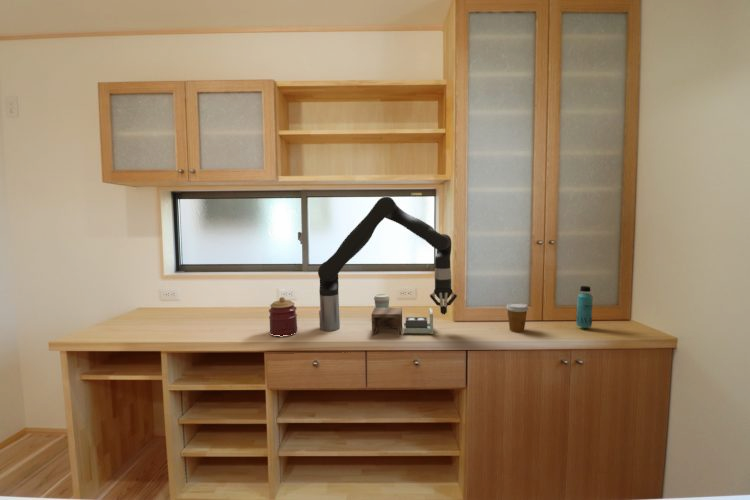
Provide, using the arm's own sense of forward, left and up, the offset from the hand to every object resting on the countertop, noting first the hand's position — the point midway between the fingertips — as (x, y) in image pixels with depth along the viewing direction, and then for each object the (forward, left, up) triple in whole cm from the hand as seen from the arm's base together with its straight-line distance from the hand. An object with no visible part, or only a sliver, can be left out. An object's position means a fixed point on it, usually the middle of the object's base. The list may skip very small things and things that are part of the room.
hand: (443, 314), depth 176 cm
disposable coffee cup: (+34, +3, -9) cm, 35 cm away
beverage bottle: (+65, +6, -9) cm, 66 cm away
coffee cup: (-31, +24, -9) cm, 40 cm away
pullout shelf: (-12, 0, -8) cm, 14 cm away
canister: (-76, -4, -9) cm, 77 cm away
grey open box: (-13, 0, -7) cm, 14 cm away
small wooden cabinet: (-26, 0, -8) cm, 27 cm away
